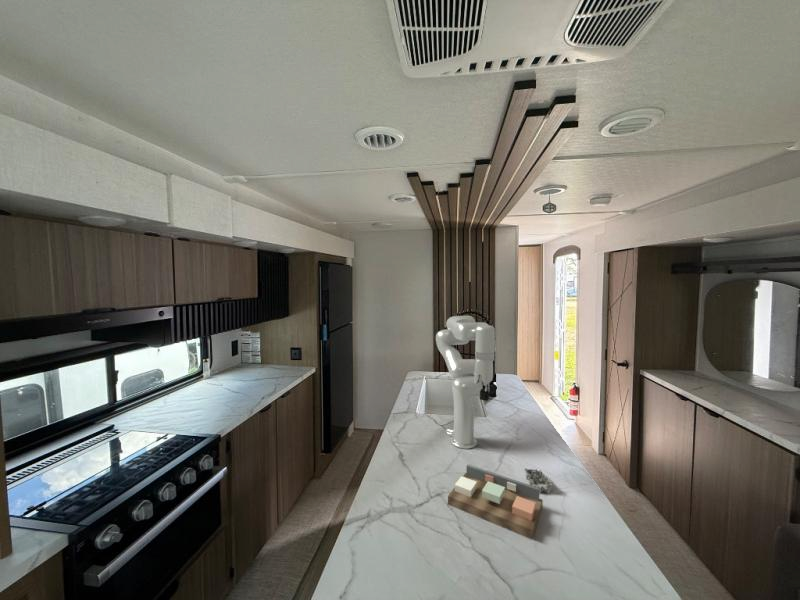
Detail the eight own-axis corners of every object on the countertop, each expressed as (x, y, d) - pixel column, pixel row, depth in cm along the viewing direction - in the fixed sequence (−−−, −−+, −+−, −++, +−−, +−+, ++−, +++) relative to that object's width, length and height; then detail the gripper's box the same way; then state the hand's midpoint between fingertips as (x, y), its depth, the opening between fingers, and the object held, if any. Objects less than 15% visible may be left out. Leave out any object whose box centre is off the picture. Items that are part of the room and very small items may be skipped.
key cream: (454, 491, 116) (454, 484, 116) (461, 482, 121) (461, 476, 121) (470, 497, 112) (470, 490, 112) (476, 487, 117) (476, 481, 117)
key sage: (481, 497, 110) (482, 490, 110) (487, 487, 115) (487, 481, 115) (499, 504, 107) (499, 497, 107) (504, 493, 112) (505, 487, 112)
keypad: (447, 504, 114) (447, 485, 113) (465, 480, 127) (465, 463, 126) (532, 539, 98) (532, 517, 98) (542, 508, 111) (542, 488, 111)
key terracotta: (512, 513, 105) (512, 506, 105) (516, 502, 110) (516, 495, 110) (531, 521, 101) (531, 513, 101) (535, 509, 106) (535, 502, 106)
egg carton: (553, 494, 119) (554, 484, 118) (532, 494, 119) (533, 483, 119) (542, 476, 129) (543, 466, 129) (523, 476, 130) (523, 466, 129)
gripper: (482, 351, 140) (481, 392, 141) (469, 358, 128) (468, 403, 129) (499, 353, 136) (498, 395, 137) (487, 361, 124) (487, 407, 125)
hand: (484, 399), depth 133 cm, fingers closed
